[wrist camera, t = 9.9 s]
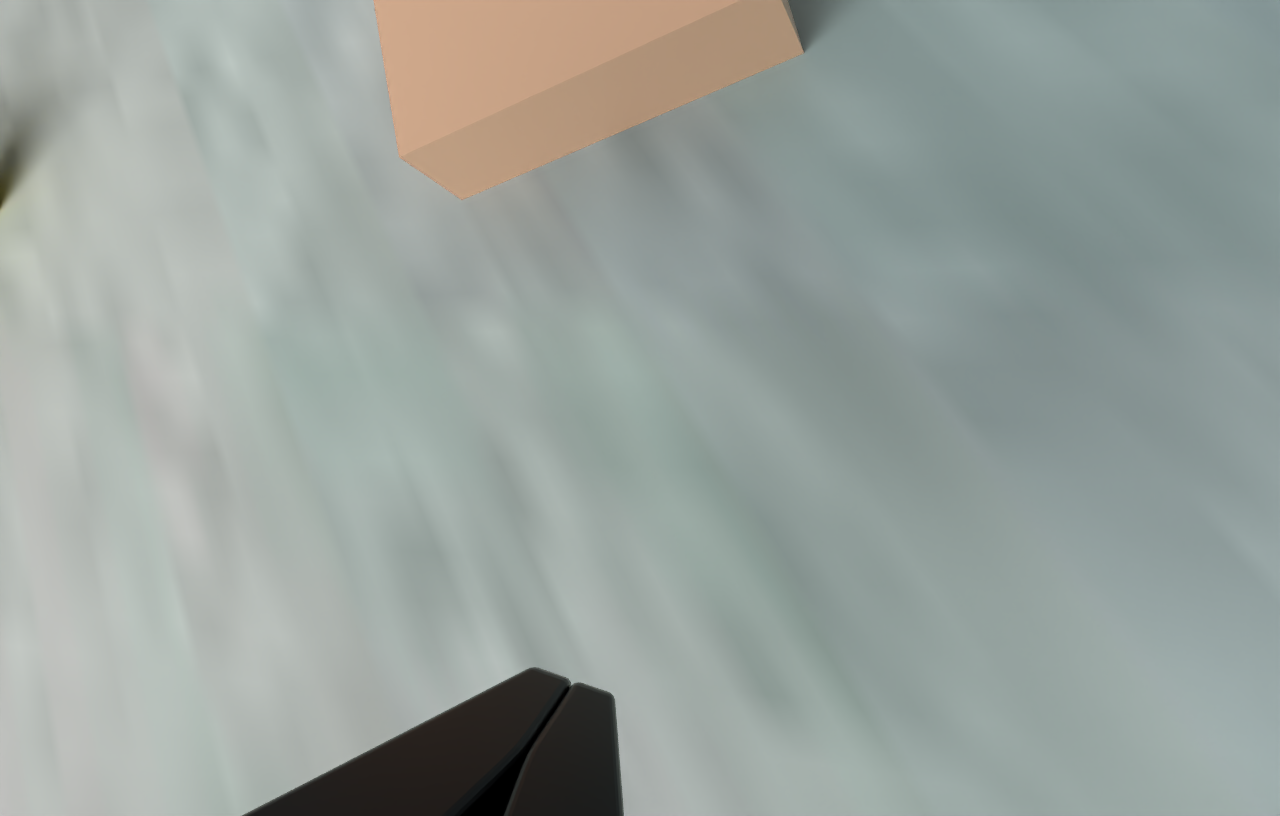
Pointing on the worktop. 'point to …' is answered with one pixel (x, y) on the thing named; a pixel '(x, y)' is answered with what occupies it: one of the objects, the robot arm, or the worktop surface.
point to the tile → (557, 74)
